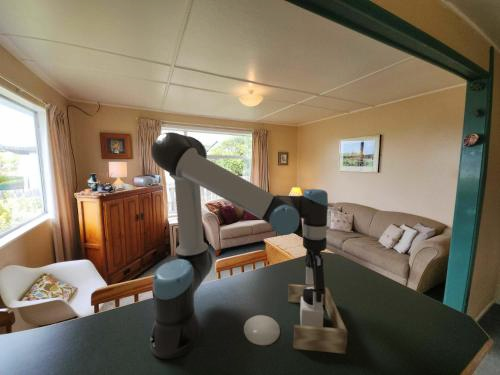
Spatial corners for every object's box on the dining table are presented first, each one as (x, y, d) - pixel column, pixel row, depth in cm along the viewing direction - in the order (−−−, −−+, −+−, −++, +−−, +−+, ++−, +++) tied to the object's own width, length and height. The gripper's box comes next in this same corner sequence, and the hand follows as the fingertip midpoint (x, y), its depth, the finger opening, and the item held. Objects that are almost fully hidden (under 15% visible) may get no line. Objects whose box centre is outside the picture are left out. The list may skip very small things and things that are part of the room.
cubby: (293, 348, 62) (294, 327, 61) (288, 300, 83) (288, 284, 83) (345, 353, 60) (347, 332, 59) (326, 303, 82) (327, 286, 81)
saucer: (241, 343, 63) (241, 342, 63) (246, 315, 75) (246, 314, 75) (280, 347, 62) (280, 346, 62) (279, 317, 74) (279, 316, 74)
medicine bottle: (323, 332, 68) (324, 298, 66) (300, 328, 69) (302, 295, 68) (320, 316, 75) (321, 285, 73) (300, 313, 76) (301, 283, 75)
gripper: (338, 252, 55) (335, 324, 58) (318, 225, 80) (316, 276, 82) (309, 251, 56) (308, 322, 59) (298, 224, 81) (297, 275, 83)
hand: (313, 295), depth 71 cm, fingers open, 13 cm apart
